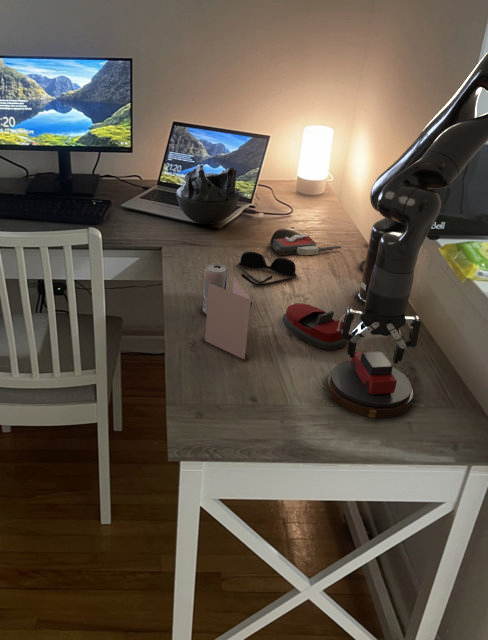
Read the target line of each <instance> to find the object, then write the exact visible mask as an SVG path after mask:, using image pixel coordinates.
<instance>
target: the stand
mask: <svg viewBox="0 0 488 640" xmlns="http://www.w3.org/2000/svg"><path fill="white" fill-rule="evenodd" d="M331 373H332V370H330V372H329V374H328V376H327V382H326V391H327V394H328V396H329V397H330V399H331V400H332V401H333V402H334V403H335V404H337V405H338V406H339V407H341V408H343V409H344V410H346V411H349V412H351V413H353V414H356V415H358V416H363V417H368V418H371V419H376V418H377V419H378V418H379V419H386V418H393V417H398V416H399V415H402V414H403V413H406V412H407V410H409V408H410V407H411V405H412V401H413V398H414V389H413V388H412V391H411V394H410V397H409V398H408V399H407V400H406V401H405V402H403V403H401V404H398V405H395V406H389V407H375V406H369V405H364V404H361V403H357V402H355V401H352V400H350V399H348V398H346V397H345V396H343V395H342V394H340V393H339V392H338V391H337V390H336V389H335V388H334V386H333V385H332V382H331Z"/></svg>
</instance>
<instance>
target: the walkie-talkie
mask: <svg viewBox="0 0 488 640" xmlns="http://www.w3.org/2000/svg"><path fill="white" fill-rule="evenodd" d="M272 249H273V250H274V251H275V252H276V254H278V255H280V256H289V255H301V256H311V255H312V256H313V255H318V254H319V253H321V252H327V251H328V252H329V251H333V250H338V249H339V250H340V249H342V246H341V245H336V246H335V245H334V246H324V247H318V246H317V242H316V241H314V240H313V238H311V237H310V236H309V235H308V234H307V233H302V234H301V233H300V234H299V233H298V234H294V235H293V236H291V237H289V236H285V237H284V238H283V237H282V238H274V239H273V240H272Z"/></svg>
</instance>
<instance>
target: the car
mask: <svg viewBox="0 0 488 640" xmlns="http://www.w3.org/2000/svg"><path fill="white" fill-rule="evenodd" d="M331 371H332V373H331V382H332V385H333V386H334V388H335V389H336V390H337V391H338V392H339V393H340V394H342V395H343V396H345V397H346V398H348V399H350V400H352V401H355V402H357V403H361V404H364V405H369V406H375V407H389V406H395V405H398V404H401V403H403V402H405V401H406V400H407V399H408V398H409V397H410V394H411V391H412V389H413V386H412V383H411V380H410V379H409V378H408V376H406V374H404V373H403V372H402V371H400V370H399V369H397V368H396V367H394V365H393V364H392V363H391V362H390V360H389V359H388V358H387V356H386V354H385V353H384V352H383V351H376V350H370V351H355V355H354V358H350V360H345V361H343V362H340V363H338V364H337V365H335V366H334V367H333V368H332V369H331Z"/></svg>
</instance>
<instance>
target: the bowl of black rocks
mask: <svg viewBox="0 0 488 640" xmlns="http://www.w3.org/2000/svg"><path fill="white" fill-rule="evenodd" d="M204 166H205V164H200V165H199V166H196V167H194V168H193V169H192V170H191V171H188V172H187V173H186V174H185V175H184V177H183V178H184V181H185V182H184V183H183V185H182V186H180V187H179V188H177V190H176V200H177V203H178V207H179V208H180V209H181V211H182V213H183V214H184V215H185V216H186V217H187V218H188V219H190V220H191V221H192V222H195V223H197V222H199V223H198V224H201V223H205V224H204V225H213V224H212V223H215V224H218V223H221V222H223V221H225V220H226V219H227V218H228V217H230V216H231V215H232V213H233V212H234V211H235V209H236V208H237V205H238V204H239V200H240V192H239V191H238V190H237V188H236V183H237V182H236V181H237V170H236V169H235V168H234V167H228V168H226V169H225V170H223V169H222V171H220V172H219V173H214V172H205V169H204ZM201 225H202V224H201Z"/></svg>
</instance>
